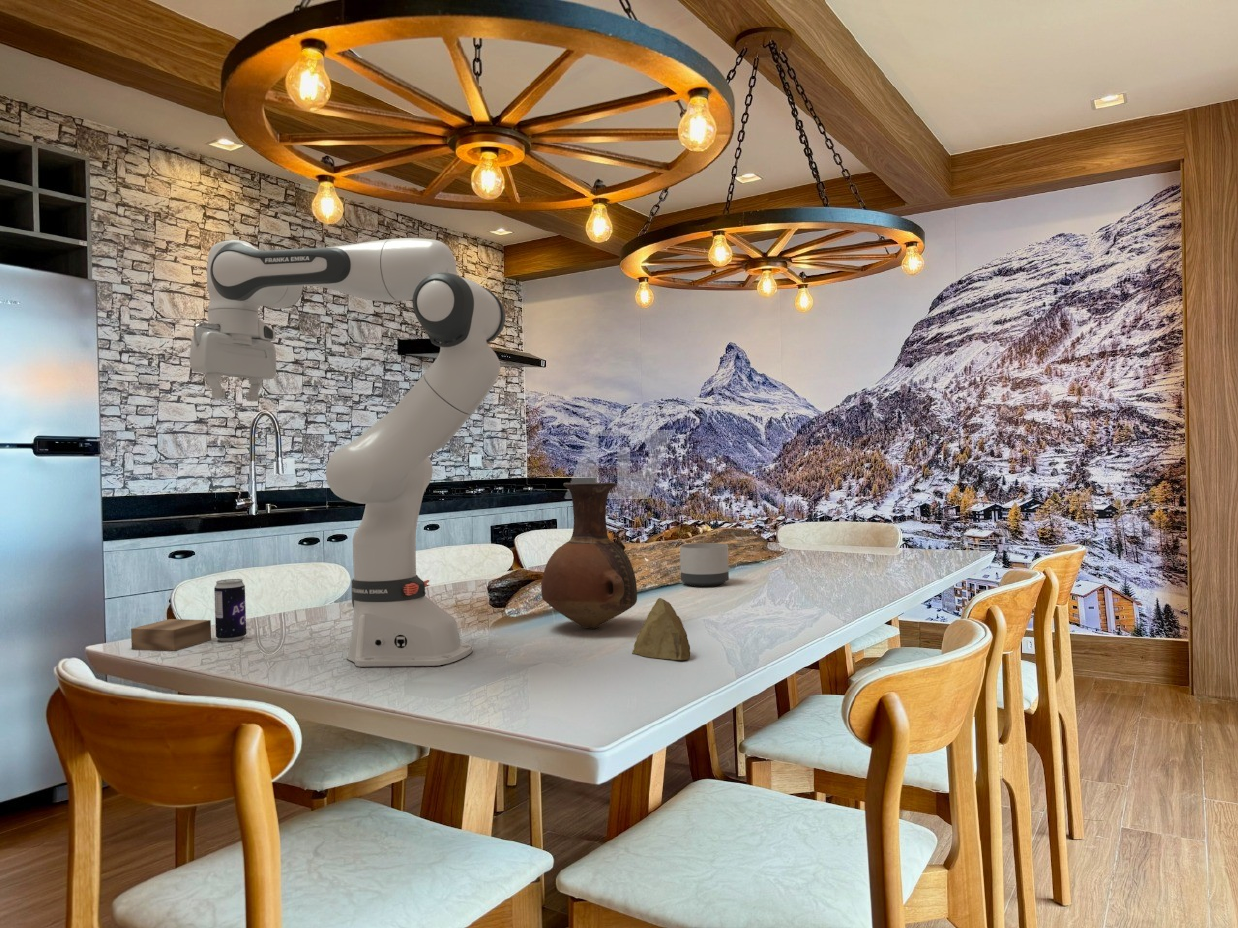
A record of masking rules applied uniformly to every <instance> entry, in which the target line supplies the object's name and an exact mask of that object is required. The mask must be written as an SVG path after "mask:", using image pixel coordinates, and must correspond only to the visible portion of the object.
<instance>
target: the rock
mask: <svg viewBox="0 0 1238 928" xmlns="http://www.w3.org/2000/svg"><path fill="white" fill-rule="evenodd" d="M643 622H644V623H643V626H642V627H641V629H640V630H639V632H638V634H637V636H636V639H635V642H634V645H633V649H632V653H631V654H632V655H638V656H641V657H645V658H653V659H659V660H660V659H661V660H662V659H663V660H672V661H688V660H690V659H691V645H690V643H689V638H688V634H687V631H686V630H685V629H686V628H685V627H684V624H683V621H682V620H681V618H680V616H679V615H678V614H677V612H676V611H675V608H674V607H673V605H672V604H671V603H670V602H669V601H667V600H665V599H663V598H661V597H659V598H657V600H656V602H655V603H654V605H652V608H651V609H650V610H649V612H648V614H647V616H646V619H645V620H644V621H643Z"/></svg>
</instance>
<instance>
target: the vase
mask: <svg viewBox="0 0 1238 928" xmlns="http://www.w3.org/2000/svg"><path fill="white" fill-rule="evenodd" d="M616 486H617V484H616V482H587V483H586V482H564V483H563V487H564V488H566V489H568V490H569V493H570V494H571V500H572V511H573V513H572V514H573V529H572V534H571V537H570V539H569V540H568V541H567V542H565V543H564V544H562V545H561V546H559V547H558V548H557V549H555V551H554V552H553V554H552V555H551V556H550V558H549V559H548V560H547V562H546V565H545V568H544V571H543V575H542V580H541V585H540V586H541V588H540V592H541V598H542V600H543V602H545V603H546V604H547V605H548V606H550V607H551V608H553V609H554V611H555V610H556V612H558V613H559V614H561V615H562V616H564V617H565V618H567V619H568V620H570V621H572V622H573V623H574V624H577V625H578V626H579V627H581V628H584V629H589V630H590V629H591V630H592V629H597V628H599V627H601V626H602V625H604V624H605V623H607V622H608V621H611V620H613V619H614V618H616V617H618V616H620V615H622V614H623V613H625V612H626V611H628V610H630V609H631V608H632V607H634V606H635V605H636V604H637V601H638V588H637V579H636V575H635V571H634V569H633V565H632V562H631V560H630V557H629V556H628V555H627V553H626V551H625V549H626V546H625V545H624V543H623V542H622V540H620V539H618V538H617V539H616V540H615V541H612V540H611V538H609V536H608V531H607V516H606V511H607V502H608V496H609V493H610V491H611V490H612V489H613V488H615V487H616Z"/></svg>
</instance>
